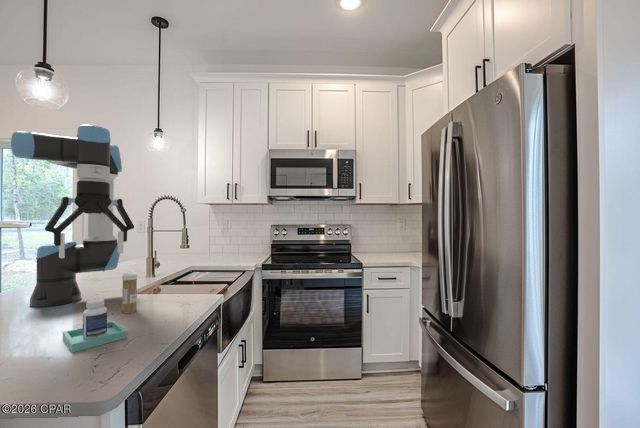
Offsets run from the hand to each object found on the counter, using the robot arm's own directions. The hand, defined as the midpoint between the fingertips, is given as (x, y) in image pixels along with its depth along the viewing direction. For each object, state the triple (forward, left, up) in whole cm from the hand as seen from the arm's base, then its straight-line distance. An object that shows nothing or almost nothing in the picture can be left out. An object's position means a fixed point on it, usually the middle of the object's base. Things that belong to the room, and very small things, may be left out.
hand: (92, 255), depth 85 cm
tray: (+4, 0, -23) cm, 23 cm away
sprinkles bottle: (-15, +14, -23) cm, 31 cm away
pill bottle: (+3, 0, -22) cm, 23 cm away
